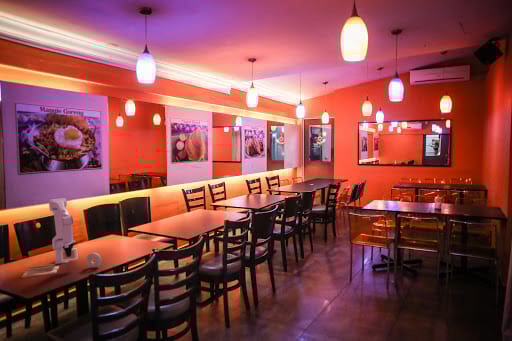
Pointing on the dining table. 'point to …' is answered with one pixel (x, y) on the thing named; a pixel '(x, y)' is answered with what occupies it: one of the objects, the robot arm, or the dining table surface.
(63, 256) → the pale pink flat block
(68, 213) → the robot arm
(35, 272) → the notched stand
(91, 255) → the donut
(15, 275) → the dining table surface
